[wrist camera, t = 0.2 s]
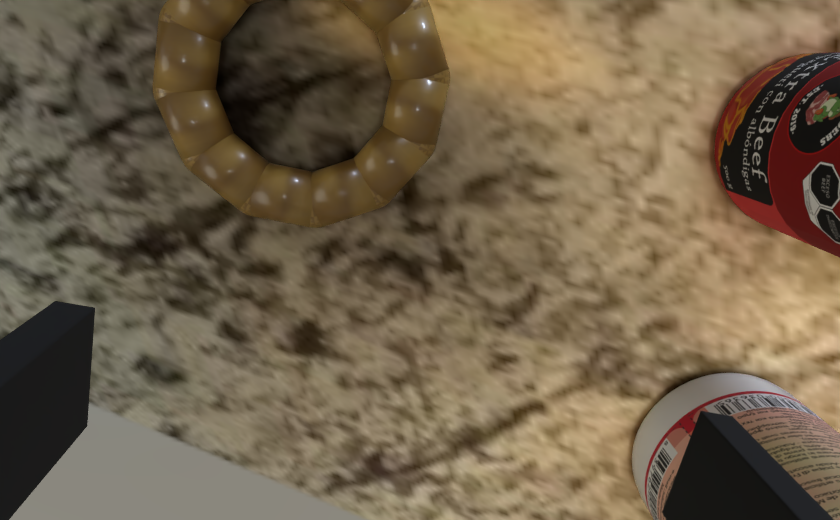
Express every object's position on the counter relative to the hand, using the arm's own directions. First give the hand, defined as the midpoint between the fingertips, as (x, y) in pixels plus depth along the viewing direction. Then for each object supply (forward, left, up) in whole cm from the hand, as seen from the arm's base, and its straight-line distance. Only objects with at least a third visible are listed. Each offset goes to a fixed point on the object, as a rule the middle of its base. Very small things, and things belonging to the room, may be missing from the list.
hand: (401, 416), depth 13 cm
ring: (-6, -5, -15) cm, 17 cm away
